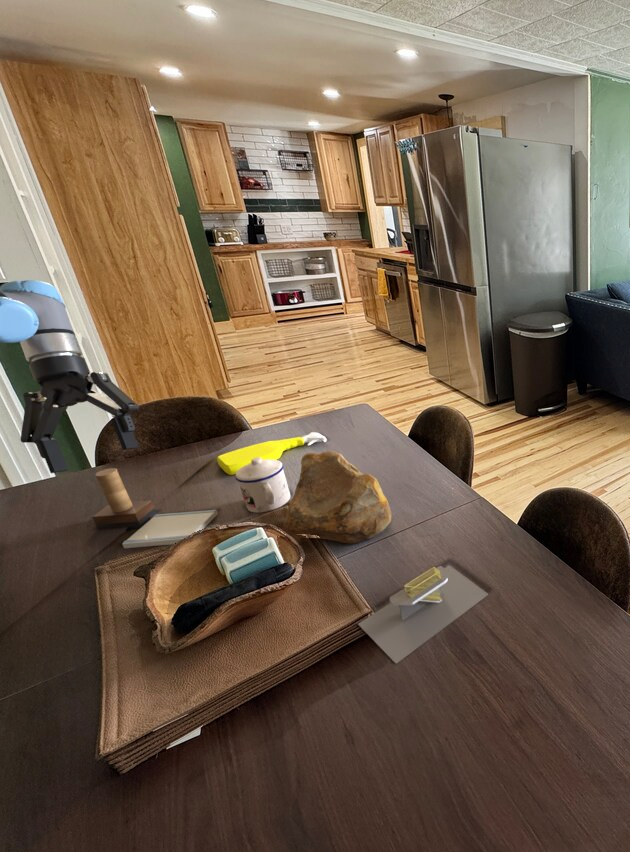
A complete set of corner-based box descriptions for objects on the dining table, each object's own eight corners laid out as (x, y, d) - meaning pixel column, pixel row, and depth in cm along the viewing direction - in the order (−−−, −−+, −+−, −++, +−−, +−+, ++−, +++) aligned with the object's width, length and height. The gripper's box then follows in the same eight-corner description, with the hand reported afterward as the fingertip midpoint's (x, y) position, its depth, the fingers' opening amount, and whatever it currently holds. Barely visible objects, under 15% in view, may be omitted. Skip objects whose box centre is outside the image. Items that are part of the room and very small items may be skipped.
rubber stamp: (99, 532, 100) (73, 479, 95) (117, 518, 105) (93, 467, 100) (141, 529, 101) (118, 476, 96) (158, 515, 106) (136, 464, 101)
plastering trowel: (488, 594, 85) (485, 565, 83) (396, 664, 72) (389, 632, 70) (449, 565, 92) (445, 537, 90) (357, 623, 79) (350, 593, 77)
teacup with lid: (242, 501, 111) (227, 458, 106) (286, 487, 117) (274, 445, 112) (252, 525, 103) (237, 479, 98) (299, 508, 109) (287, 464, 104)
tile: (124, 548, 96) (121, 543, 95) (158, 518, 105) (156, 513, 104) (190, 542, 97) (188, 537, 97) (218, 514, 106) (216, 509, 106)
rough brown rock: (270, 531, 102) (245, 475, 95) (343, 490, 114) (325, 438, 107) (328, 578, 91) (305, 518, 84) (403, 527, 103) (388, 471, 96)
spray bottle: (216, 464, 126) (314, 434, 144) (230, 478, 120) (330, 445, 138) (213, 455, 125) (312, 426, 143) (227, 468, 119) (328, 436, 137)
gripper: (138, 342, 99) (174, 437, 99) (11, 380, 96) (49, 478, 97) (104, 337, 91) (144, 440, 92) (-35, 378, 89) (8, 484, 89)
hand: (95, 460), depth 94 cm, fingers open, 13 cm apart
